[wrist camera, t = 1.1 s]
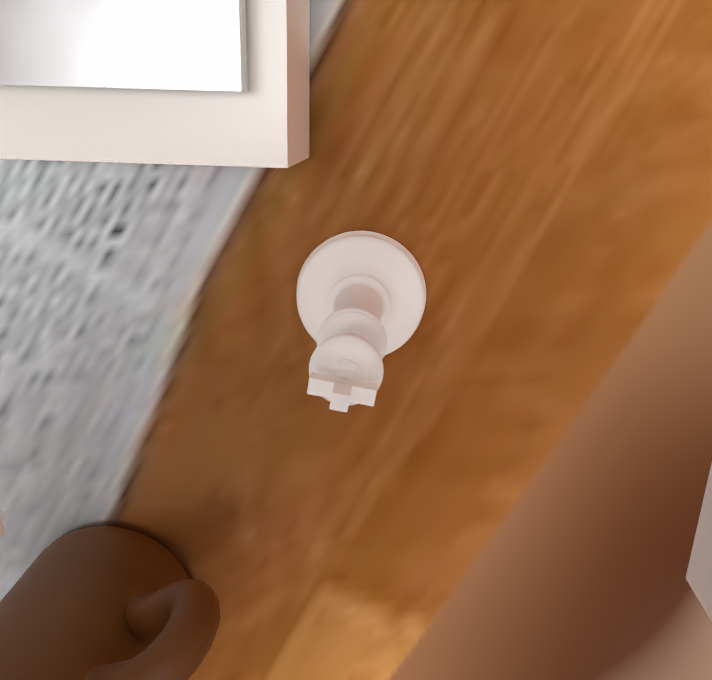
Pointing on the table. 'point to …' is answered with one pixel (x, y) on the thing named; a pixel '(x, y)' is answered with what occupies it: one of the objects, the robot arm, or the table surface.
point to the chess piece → (357, 312)
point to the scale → (179, 110)
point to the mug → (106, 612)
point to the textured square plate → (124, 44)
